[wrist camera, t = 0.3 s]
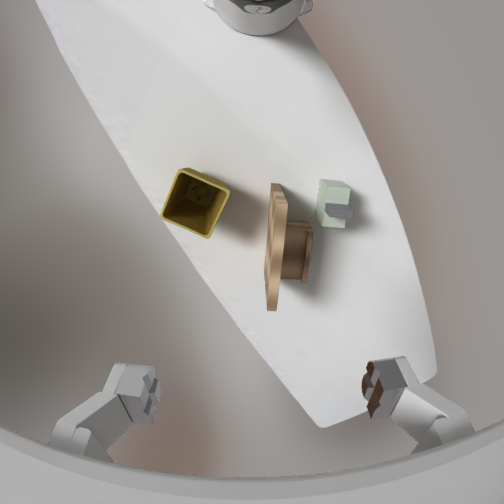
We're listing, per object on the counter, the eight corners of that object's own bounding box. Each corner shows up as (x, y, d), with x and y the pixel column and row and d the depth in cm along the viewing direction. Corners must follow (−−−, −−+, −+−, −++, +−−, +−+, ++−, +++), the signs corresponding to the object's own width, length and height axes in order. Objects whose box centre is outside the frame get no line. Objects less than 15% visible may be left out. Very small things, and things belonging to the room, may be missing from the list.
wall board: (271, 183, 54) (277, 203, 42) (312, 186, 54) (329, 207, 42) (264, 272, 61) (267, 310, 50) (301, 273, 62) (311, 311, 50)
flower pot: (234, 179, 53) (231, 191, 45) (214, 221, 57) (208, 240, 49) (189, 159, 52) (178, 168, 44) (171, 202, 55) (158, 218, 47)
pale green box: (319, 178, 53) (332, 191, 45) (341, 180, 54) (357, 193, 45) (315, 215, 56) (326, 233, 48) (336, 216, 57) (350, 235, 48)
